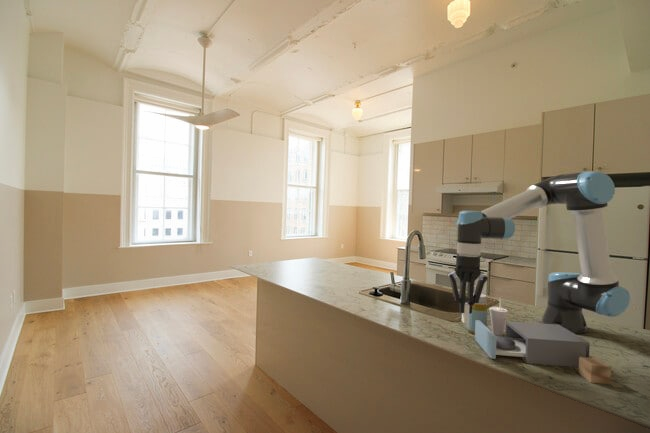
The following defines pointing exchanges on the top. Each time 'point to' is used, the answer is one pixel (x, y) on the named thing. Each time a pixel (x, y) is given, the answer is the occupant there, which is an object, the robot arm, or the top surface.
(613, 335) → the top surface
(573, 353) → the housing
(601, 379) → the block
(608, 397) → the top surface
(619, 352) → the top surface
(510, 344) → the disc
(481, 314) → the bottle
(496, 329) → the smoothie
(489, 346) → the light blue drawer
